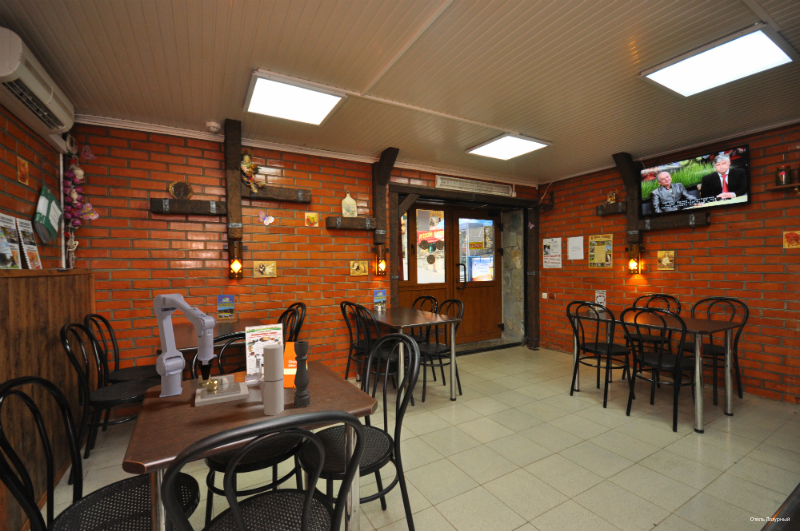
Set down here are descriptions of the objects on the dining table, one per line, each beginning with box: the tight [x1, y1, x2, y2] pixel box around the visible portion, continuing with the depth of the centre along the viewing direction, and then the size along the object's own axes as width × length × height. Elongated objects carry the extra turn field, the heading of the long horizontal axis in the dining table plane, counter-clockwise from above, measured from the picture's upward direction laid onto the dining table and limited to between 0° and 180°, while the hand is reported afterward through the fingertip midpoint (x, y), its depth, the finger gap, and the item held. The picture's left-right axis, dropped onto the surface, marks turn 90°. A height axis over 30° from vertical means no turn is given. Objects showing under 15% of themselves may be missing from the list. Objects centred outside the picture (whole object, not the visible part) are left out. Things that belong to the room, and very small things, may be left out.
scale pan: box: [203, 381, 241, 398], centre depth 157 cm, size 12×14×1 cm
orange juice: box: [283, 341, 308, 388], centre depth 170 cm, size 8×9×20 cm
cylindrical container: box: [262, 343, 285, 416], centre depth 138 cm, size 7×7×25 cm
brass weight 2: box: [207, 379, 218, 392], centre depth 155 cm, size 4×4×4 cm
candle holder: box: [293, 340, 311, 408], centre depth 145 cm, size 6×6×25 cm
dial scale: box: [194, 374, 250, 408], centre depth 157 cm, size 18×20×6 cm
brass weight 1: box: [197, 374, 212, 388], centre depth 150 cm, size 4×4×4 cm
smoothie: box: [258, 376, 264, 405], centre depth 148 cm, size 6×6×14 cm
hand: (205, 378), depth 150 cm, fingers closed on brass weight 1, 4 cm apart
